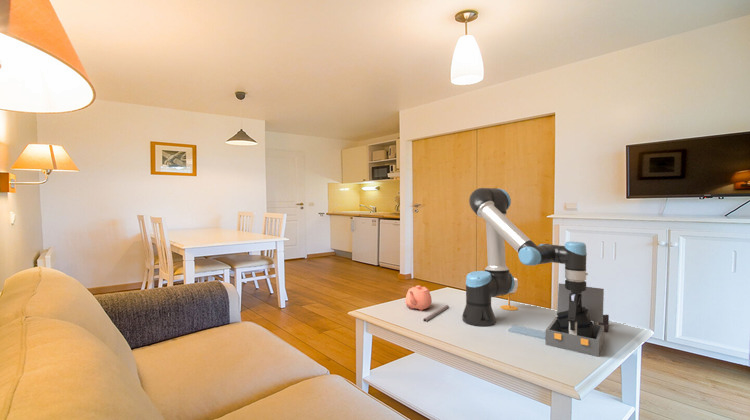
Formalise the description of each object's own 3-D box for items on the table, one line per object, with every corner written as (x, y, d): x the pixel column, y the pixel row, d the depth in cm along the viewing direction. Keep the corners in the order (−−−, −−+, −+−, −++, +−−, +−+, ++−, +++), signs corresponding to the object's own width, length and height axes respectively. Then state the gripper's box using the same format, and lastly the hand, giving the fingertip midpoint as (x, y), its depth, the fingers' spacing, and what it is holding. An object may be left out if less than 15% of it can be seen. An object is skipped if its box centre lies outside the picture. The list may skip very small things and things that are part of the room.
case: (545, 345, 137) (545, 306, 137) (557, 327, 157) (557, 293, 157) (598, 357, 126) (598, 315, 126) (605, 336, 146) (605, 300, 146)
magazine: (601, 346, 131) (582, 308, 136) (567, 351, 140) (551, 315, 145) (604, 344, 134) (585, 306, 139) (571, 349, 143) (554, 313, 148)
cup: (498, 305, 193) (498, 276, 192) (515, 305, 191) (515, 277, 191) (502, 310, 184) (502, 280, 183) (520, 310, 182) (520, 280, 182)
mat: (508, 331, 153) (508, 329, 153) (513, 326, 159) (513, 324, 159) (544, 339, 143) (544, 337, 143) (549, 333, 150) (549, 332, 150)
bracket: (591, 330, 154) (592, 319, 154) (593, 323, 164) (593, 312, 164) (607, 333, 150) (607, 322, 150) (608, 325, 161) (608, 314, 161)
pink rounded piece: (398, 311, 182) (398, 288, 182) (414, 302, 199) (414, 281, 199) (421, 315, 175) (421, 291, 175) (436, 305, 192) (436, 284, 192)
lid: (558, 283, 155) (559, 283, 156) (557, 315, 153) (557, 314, 154) (603, 288, 145) (603, 288, 146) (602, 323, 143) (603, 322, 144)
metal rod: (448, 308, 188) (448, 305, 187) (426, 322, 165) (426, 318, 165) (445, 308, 189) (445, 304, 189) (423, 322, 166) (423, 317, 166)
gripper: (581, 286, 128) (581, 344, 128) (590, 276, 147) (589, 327, 147) (559, 283, 133) (559, 340, 133) (570, 274, 151) (569, 323, 152)
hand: (575, 333), depth 140 cm, fingers open, 11 cm apart
